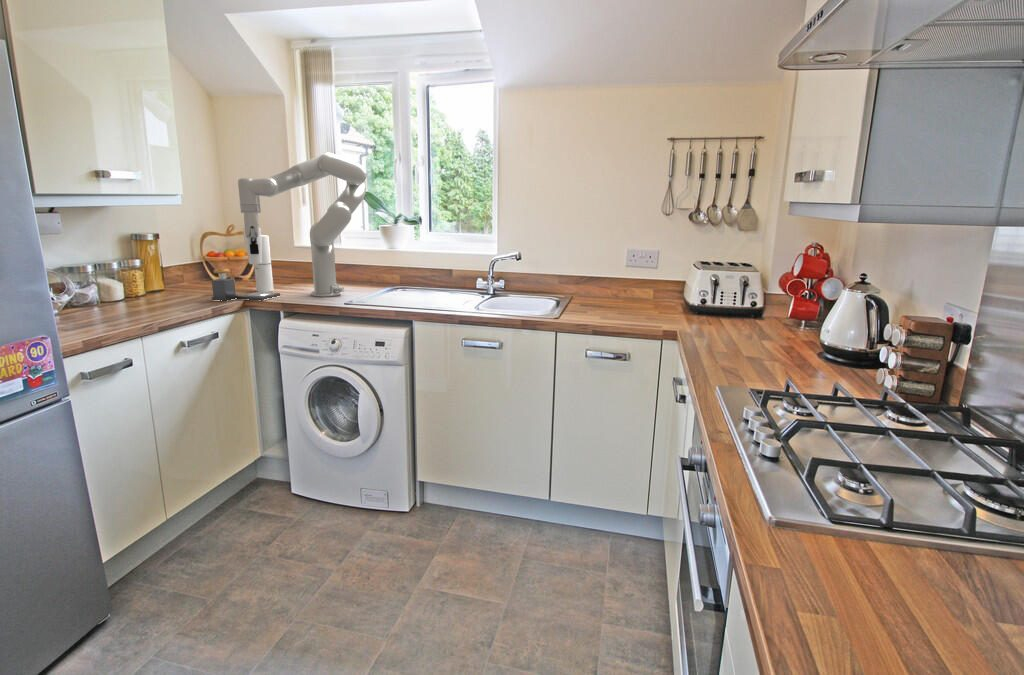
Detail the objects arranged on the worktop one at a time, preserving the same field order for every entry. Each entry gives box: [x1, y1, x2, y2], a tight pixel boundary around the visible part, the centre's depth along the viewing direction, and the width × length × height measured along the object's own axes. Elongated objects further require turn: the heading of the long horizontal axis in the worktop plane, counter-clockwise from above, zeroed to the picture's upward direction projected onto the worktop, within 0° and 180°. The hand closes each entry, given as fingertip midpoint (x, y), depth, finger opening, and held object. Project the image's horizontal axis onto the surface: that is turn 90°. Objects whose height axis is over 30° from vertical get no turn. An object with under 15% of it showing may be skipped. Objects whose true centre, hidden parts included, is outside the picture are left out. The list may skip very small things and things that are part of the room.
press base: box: [211, 278, 281, 302], centre depth 242 cm, size 20×18×8 cm
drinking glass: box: [242, 226, 263, 265], centre depth 239 cm, size 7×7×15 cm
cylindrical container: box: [253, 234, 275, 292], centre depth 259 cm, size 7×7×25 cm
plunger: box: [213, 268, 231, 280], centre depth 237 cm, size 6×6×8 cm
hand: (254, 252), depth 240 cm, fingers closed on drinking glass, 6 cm apart
